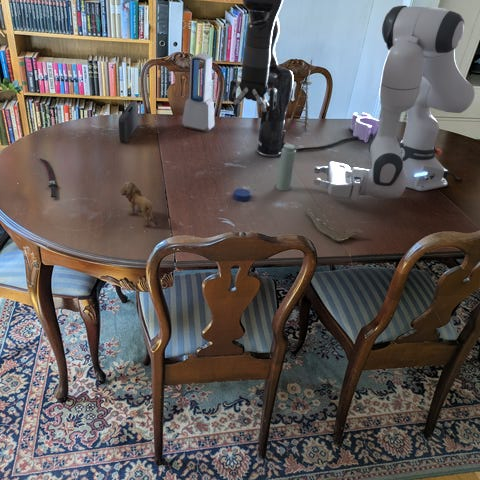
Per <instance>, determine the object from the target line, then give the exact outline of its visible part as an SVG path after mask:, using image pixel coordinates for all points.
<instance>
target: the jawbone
mask: <svg viewBox="0 0 480 480" xmlns="http://www.w3.org/2000/svg"><path fill="white" fill-rule="evenodd" d="M303 211H304V212H305V214H306V215H308V216H309V217H310V219H311V220H312V222H313V224H314V226H315V227H316V228H317V230H318V231H319V232H320V233H322V234H323V235H325V236H327V237H329V238H330V239H332V240H333V241H334V242H337V243H338V242H339V243H341V242H344V241H346V240H347V239H349V238H352V239H356V238H357V236H358V233H359V234H362V233H364V231H363V230H361V229H359V228H349V229H347V230H343V231H340V230H339V231H338V230H335V229H334V228H333V227H331V226H329V225H328V224H327V223H325V221H324V220H323V219H321V218H319V219H318V218H317V217H316V216H315V215H314V214H313V212H312V211H311V210H310V209H309V208H307V209H306V208H305V209H303Z"/></svg>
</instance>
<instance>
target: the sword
mask: <svg viewBox="0 0 480 480" xmlns="http://www.w3.org/2000/svg"><path fill="white" fill-rule="evenodd" d="M40 161H41V162H42V163H43V165H44V166H45V169H46V173H47V176H48V185H47V188H50V198H56V197H57V189H56V188H57V187H59V185H58V184H57V183H56V180H55V176H54V172H53V169H52V167H51V164H50V163H49V161H48V160H46V159H43V158H40Z"/></svg>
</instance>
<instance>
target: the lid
mask: <svg viewBox="0 0 480 480" xmlns="http://www.w3.org/2000/svg"><path fill="white" fill-rule="evenodd" d="M232 197H233V199H234V200H236V201H239V202H247V201H249V200H250V199H251V191H249V190H248V189H246V188H236V189H234V191H233V196H232Z"/></svg>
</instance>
